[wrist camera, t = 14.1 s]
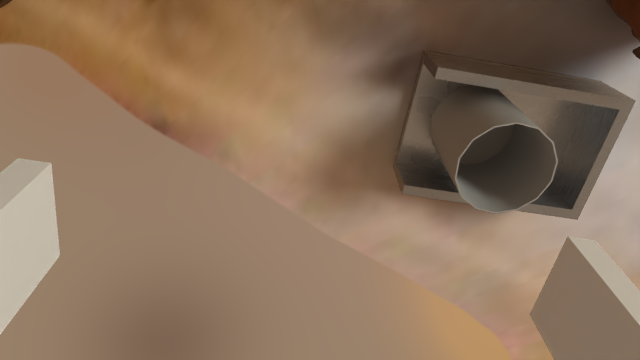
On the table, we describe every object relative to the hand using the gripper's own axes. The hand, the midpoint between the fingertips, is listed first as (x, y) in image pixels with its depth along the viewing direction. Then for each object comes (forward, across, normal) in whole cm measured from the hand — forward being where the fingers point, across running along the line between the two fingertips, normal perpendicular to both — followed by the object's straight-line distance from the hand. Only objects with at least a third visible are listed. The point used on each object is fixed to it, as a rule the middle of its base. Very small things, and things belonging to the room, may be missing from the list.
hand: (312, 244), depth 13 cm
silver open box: (+37, +20, -8) cm, 43 cm away
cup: (+36, +18, -8) cm, 41 cm away
